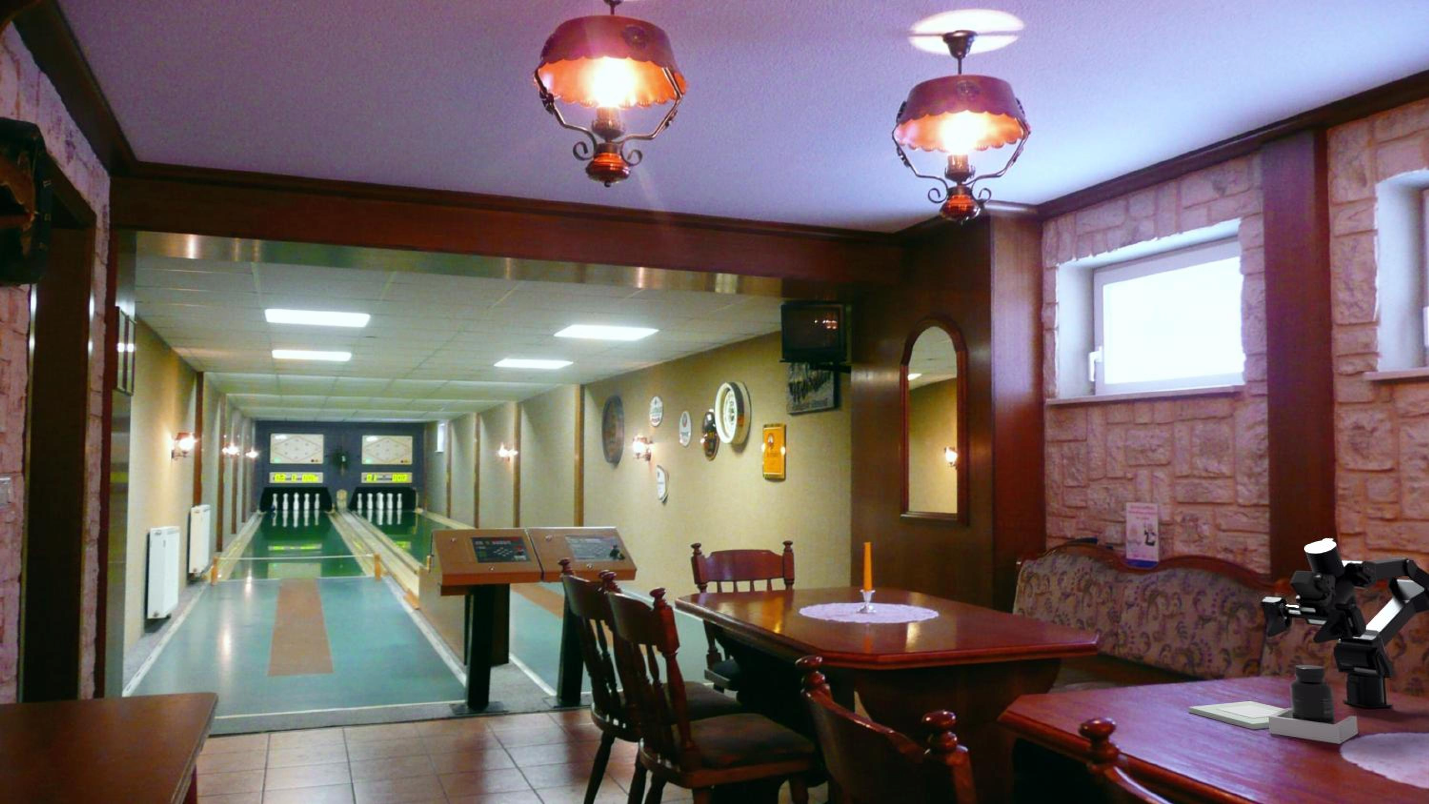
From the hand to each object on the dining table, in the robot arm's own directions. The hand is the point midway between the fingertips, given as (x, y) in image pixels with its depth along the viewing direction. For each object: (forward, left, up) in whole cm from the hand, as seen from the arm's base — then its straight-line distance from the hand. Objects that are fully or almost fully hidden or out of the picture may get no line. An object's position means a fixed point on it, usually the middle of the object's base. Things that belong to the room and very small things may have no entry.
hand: (1290, 638), depth 199 cm
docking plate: (+6, -5, -16) cm, 17 cm away
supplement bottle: (+4, +9, -16) cm, 19 cm away
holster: (+4, +9, -16) cm, 19 cm away
